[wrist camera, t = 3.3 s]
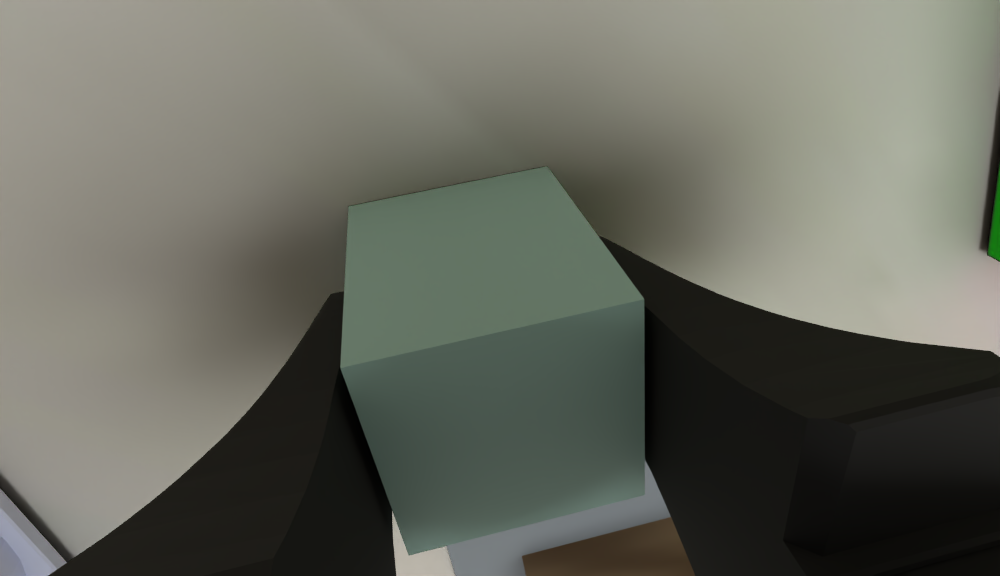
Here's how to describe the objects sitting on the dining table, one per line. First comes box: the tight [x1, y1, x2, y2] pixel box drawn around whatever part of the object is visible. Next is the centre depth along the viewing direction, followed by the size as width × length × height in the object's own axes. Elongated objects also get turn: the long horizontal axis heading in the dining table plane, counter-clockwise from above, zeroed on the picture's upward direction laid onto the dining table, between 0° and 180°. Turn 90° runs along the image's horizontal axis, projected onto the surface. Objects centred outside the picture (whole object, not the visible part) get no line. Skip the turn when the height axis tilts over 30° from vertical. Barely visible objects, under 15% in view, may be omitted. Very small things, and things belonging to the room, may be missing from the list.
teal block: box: [340, 166, 645, 555], centre depth 11 cm, size 4×4×5 cm
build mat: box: [447, 461, 671, 576], centre depth 20 cm, size 12×12×1 cm
